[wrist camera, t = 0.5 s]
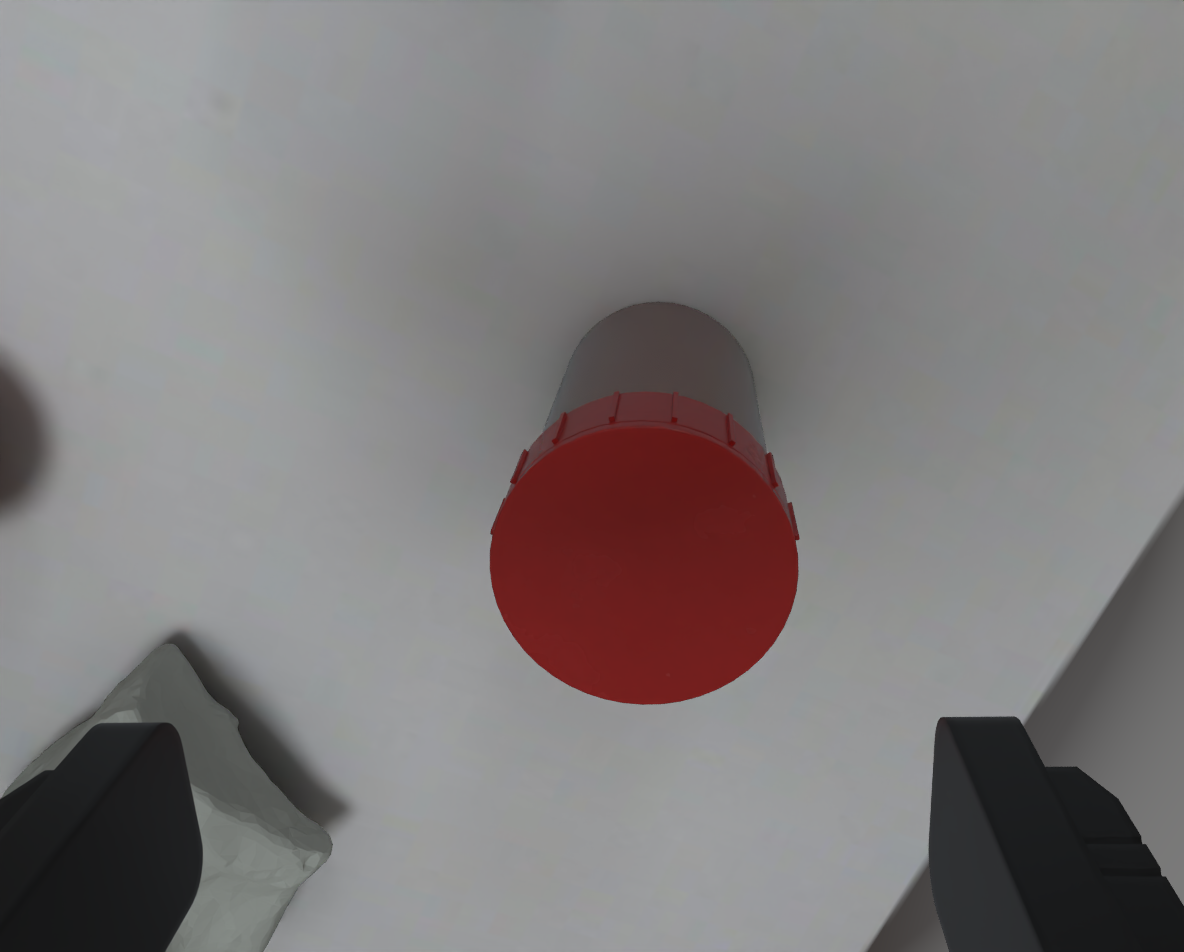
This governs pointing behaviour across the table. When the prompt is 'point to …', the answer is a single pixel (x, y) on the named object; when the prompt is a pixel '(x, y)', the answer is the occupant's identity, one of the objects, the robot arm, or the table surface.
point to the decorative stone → (215, 808)
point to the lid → (645, 549)
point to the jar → (662, 363)
